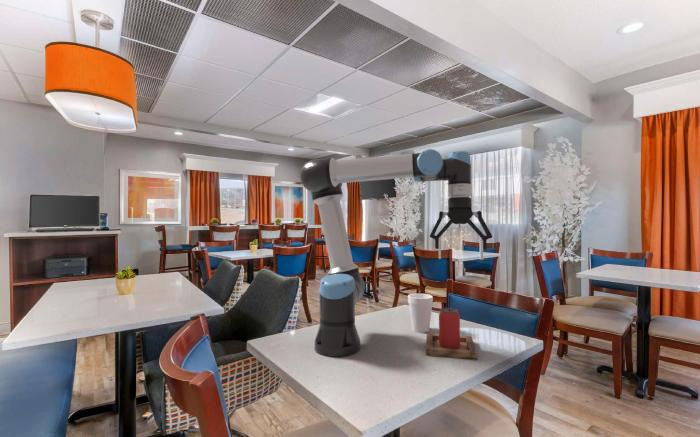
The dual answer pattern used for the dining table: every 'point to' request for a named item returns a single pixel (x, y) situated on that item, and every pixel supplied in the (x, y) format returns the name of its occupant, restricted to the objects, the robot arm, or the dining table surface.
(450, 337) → the beer can
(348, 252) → the robot arm
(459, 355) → the wooden tray
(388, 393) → the dining table surface
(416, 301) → the foam cup
